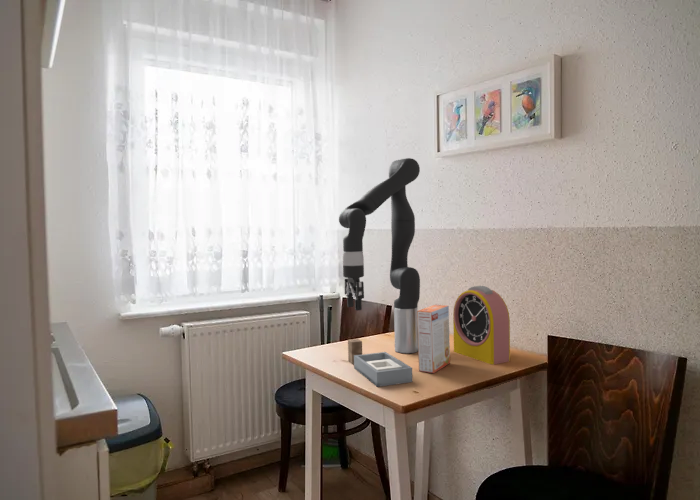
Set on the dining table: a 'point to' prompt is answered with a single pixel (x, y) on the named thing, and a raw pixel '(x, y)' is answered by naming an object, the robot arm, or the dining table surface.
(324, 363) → the dining table surface
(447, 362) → the cracker box
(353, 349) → the peg
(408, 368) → the walled box
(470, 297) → the alarm clock
